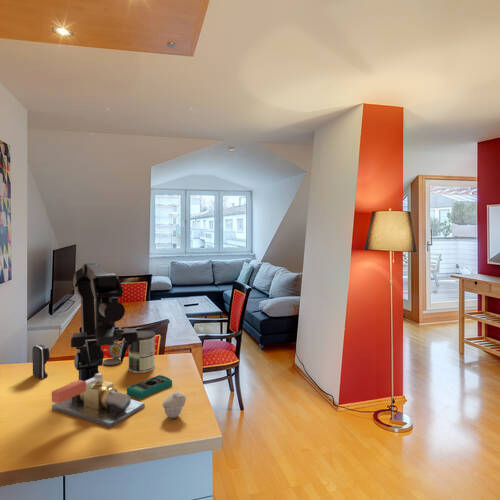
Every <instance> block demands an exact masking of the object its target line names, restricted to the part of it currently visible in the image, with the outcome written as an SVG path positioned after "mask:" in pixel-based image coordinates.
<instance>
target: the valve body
mask: <svg viewBox="0 0 500 500" xmlns="http://www.w3.org/2000/svg"><path fill="white" fill-rule="evenodd" d="M73 382H74V381H73ZM73 382H71V383H73ZM145 407H146V405H145V402H143V401H138V400H136V399H132V397H131V395H129V394H126V393H122V392H119V391H118V390H117V388H115V387H114V382H110V381H106V380H103V379H102V380H101V381H99V382H96V383H94V384H92V385H90V386H88V387H86V391H85V392H83V393H81V394H78V395H76V396H74V397H72V398H70V399H68V400H65V401H63V402H61V403H59V404H58V403H54V404H52V405H51V410H52V411H56V412H59V413H63V414H66V415H70V416H73V417H75V418H78V419H82V420H84V421H89V422H92V423H95V424H97V425H98V424H99V425H100V426H101V425H102V426H103V427H108V428H113V427H114V426H116V425H117V424H119V423H120V422H123V421H124V420H126V419H127V418H129V417H130V416H132V415H134V414H135V413H137V412H138V411H140V410H142V409H143V408H145Z"/></svg>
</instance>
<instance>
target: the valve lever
mask: <svg viewBox="0 0 500 500" xmlns="http://www.w3.org/2000/svg"><path fill="white" fill-rule="evenodd" d="M103 376H104V375H103V373H102V372H99V373H97V374H95V377H93V378H91V379H88V380H86V381H82V380H79V379H78V380H75V381H73V383H72V382H70V383H69V384H66V385H63V386H61V387H59V388H56V389H55V390H51V402H52V403H54V404H56V403H58V404H59V403H61V402H63V401H65V400H68V399H70V398H72V397H74V396H76V395H78V394H81V393H83V392H85V391H86V387H88V386H90V385H92V384H94V383H96V382H99V381H101V380H103Z"/></svg>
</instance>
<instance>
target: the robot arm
mask: <svg viewBox="0 0 500 500" xmlns="http://www.w3.org/2000/svg"><path fill="white" fill-rule="evenodd" d="M72 280H73V281H72V285H73V287H74V289H75V293H76V294H77V296H79V299H80V318H81V332H74V333H73V334H71V338H70V347H71V348H75V349H76V350H77V352H76V353H75V357H74V360H73V363H74V368H75V370H76V371H78V380H82V381H86V380H88V379H91V378H93V377H95V374H97V373H100V372H99V367H100V366H101V367H102V366H103V364H104V363H103V361H104V356H105V352H104V351H103V349H102V347H103V346H110V345H113V344H114V343H115V340H118V339H119V340H121V345H122V348H121V357H120V358H119V359H120V362H119V363H120V364H123V361H124V359H125V356H126V353H127V351H128V350H129V345H132V344H133V342H136V341H138V333H137V331H138V330H137V329H136V328H125V329H123V332H122V327H121V326H116V322H118V321H120V320H122V319H123V318H124V316H125V313H126V309H125V306H124V305H123V304H122V303H121V301H119V298H122V297H123V293H124V289H123V286H122V283H121V280H120V278H119V276H118V275H117V274H116V273H114V272H106V271H105V270H104V269H103V268H102V267H100V264H99V263H97V262H87V263H83V264H82V266H81V268H79V269H78V270H76V271H74V275H73V279H72ZM119 340H118V341H119Z"/></svg>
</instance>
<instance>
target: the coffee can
mask: <svg viewBox="0 0 500 500" xmlns="http://www.w3.org/2000/svg"><path fill="white" fill-rule="evenodd" d="M137 333H138V341H136V342H133V344H132V345H129V347H128V371H129V372H131V373H134V374H144V373H148V372H151V371H153V370H155V368H156V365H155V363H156V362H155V359H156V357H155V355H156V354H155V353H156V352H155V351H156V349H155V347H156V345H155V344H156V343H155V341H156V332H155V331H153V330H148V329H147V330H146V329H145V330H143V329H142V330H137Z"/></svg>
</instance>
